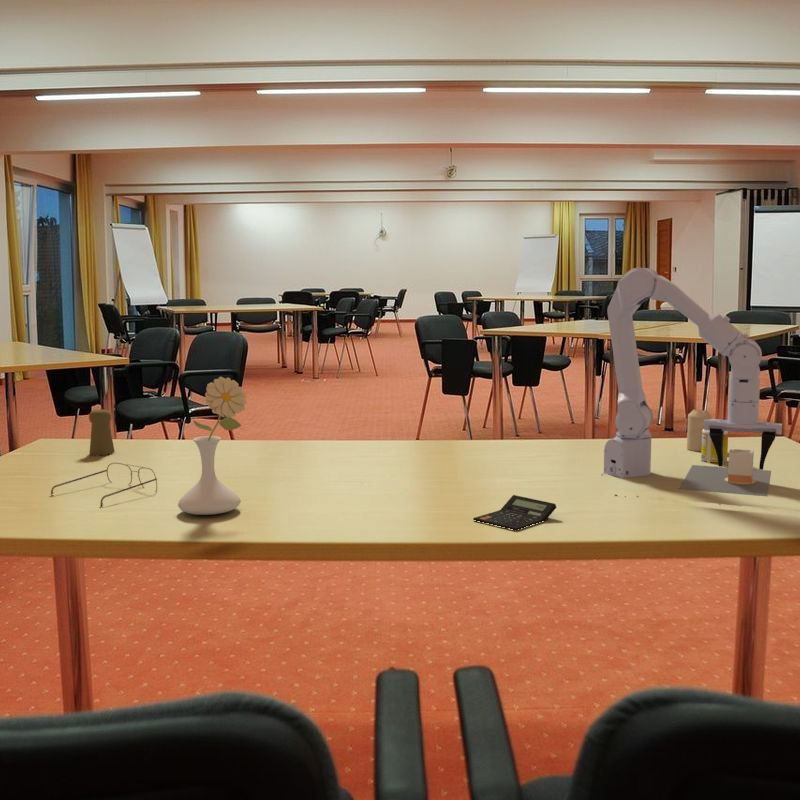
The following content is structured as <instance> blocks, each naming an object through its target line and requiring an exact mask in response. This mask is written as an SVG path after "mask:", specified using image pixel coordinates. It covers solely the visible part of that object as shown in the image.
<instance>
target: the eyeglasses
mask: <svg viewBox="0 0 800 800" xmlns="http://www.w3.org/2000/svg"><path fill="white" fill-rule="evenodd" d="M113 464H118V465H123V466H126V467H128V469H129V470H130V482H129V483H128V484H130V485H131V484H132V481H133V472H135V473H137V477H138V480H139V484H138V483H137V484H136V485H132V486H130V487H127V488H124V489H120V490H117V491H115V492H114V491H113V492H111V493H108V494H105V495H103V496H102V497H101V499H100V501H99V502H100V506H101V505H103V506H104V504H103V501H104V499H105V498H108V497H110V496H114V495H116V494H120V493H122V492H125V491H128V490H131V489H134V488H136V487H137V488H138V487H140V486H141V487H142V488H144V487H145V486H144V485H146V484H148V483H151V482H154V481H155V485H156V488H155V492H157V490H158V480H157V479H158V478H157V477H156V473H155V472H154V469H152V468H150V467H143V466H141V467H140V466H138V465H133V464H128V463H127V464H125V463H121V462H111V463H109V464H108V465H107V467H106V469H105V470H104V469H103V470H101V471H98V472H94V473H91V474H89V475H85V476H82V477H79V478H76V479H72V480H68V481H65V482H61V483H58V484H55V485H54V486H52V487H51V490H50V495H52V494H54V490H55V488H57V487H61V486H64V485H67V484H71V483H74V482H77V481H80V480H83V479H86V478H89V477H92V476H95V475H98V474H103V473H105V472H106V476H107V479H108V481H109V483H111V482H112V481H111V479H110V477H109V471H108V470H109V466H111V465H113ZM130 466H131V467H137V468H138V470H137V471H136V470H132V469H131V467H130ZM141 469H147V470H150V471H152V473H153V476H154V478H153V479H150V480H148V481H144V482H142V481H141V477H140V470H141Z"/></svg>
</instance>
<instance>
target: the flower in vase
mask: <svg viewBox="0 0 800 800" xmlns="http://www.w3.org/2000/svg"><path fill="white" fill-rule="evenodd" d="M205 389H206V392H205V394H204V398H205V400H204V402H205V404H206V405H208V406H207V407H208V408H209V409H211V412H212V413H213V414H216V415H218V418H217V421H216V423H215V426H213V429H212V428H211V426H209V425H206V424H202V423H200V422H197V421H196V420H193V424H194V425H195V427H197V428H198V429H199V428H200V429H202V430H206V431H209V432H210V434H209V435H205V436H197V437H194V438H192V441H193V442H194V444H196V446H197V448H198V450H199V454H200V458H201V459H200V461H201V475H200V479H199V480H198V481H197V483H195V484H194V485H193V486H192V487H191V488H190V489H189V490H188V491H186V492H185V493H184V494H183V496H181V497H180V499H179V500H178V503H177V507H178V508H179V510H180V511H181V512H184V513H187V514H190V515H198V516H208V515H209V516H210V515H211V516H213V515H219V514H220V515H221V514H223V513H224V514H225V513H227V512H228V513H229V512H230V511H232V510H235V509H237V508H239V506H240V504H241V503H242V500H241V498H240V496H239V494H237V493H236V492H235V491H234V490H233V489H232V488H230V487H228V486H227V485H226V484H224V483H223V482H221V480H219V479H218V477H217V475H216V472H215V455H216V450H217V448H218V447H217V446H218V444H219V442H220V441H221V439H222V438H221V437H220V436H217V435H213V434H214V432H215V430H216V428H217V426H218V425H219V426H221V428H223V430H225V431H233V430H236V429H239V428H240V427H242V424H241V423H240V422H239V421H238V420H237V419H235V418H234V417H236V414H240V413H242V411H243V412H244V411H245V404H247V399H246V398H247V395H246V392H245V391H243V387H242V386H239V383H238V382H237V381H236V380H234V379H232V380H231V378H230V377H226V378H225V377H223V376H219V377H218V378H214V379H213V382H209V383H207V385H206V387H205ZM224 416H225V417H224ZM221 417H224V418H222V419H221Z"/></svg>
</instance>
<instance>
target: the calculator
mask: <svg viewBox="0 0 800 800" xmlns="http://www.w3.org/2000/svg"><path fill="white" fill-rule="evenodd" d="M556 509H557V505H556V503H553V502H549V501H544V500H539V499H534V498H529V497H525V496H521V495H520V496H519V495H516V494H513V495H511V497H510V498H509V499H508V501H506V503H505V504H504V505H503V506H502V507H501V509H499V510H496V511H493V512H489V513H486V514H481V515H479V516H476V517H473V520H476V521H480V522H484V523H489V524H493V525H497V526H501V527H505V528H510V529H513V530H518V529H521V528H524V527H526V526H530V525H532V524H536V523H539V522H542V521H545V522H546V521H547V520H548V518H549V517H550V516H551V515H552V513H554V512H555V510H556ZM473 520H472V521H473Z"/></svg>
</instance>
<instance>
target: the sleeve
mask: <svg viewBox="0 0 800 800" xmlns="http://www.w3.org/2000/svg"><path fill="white" fill-rule="evenodd" d="M754 452H755V450H754V449H743V448H730V450H729V452H728V467H727V468H728V482H740V483H752V479H753V469H754Z"/></svg>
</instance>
